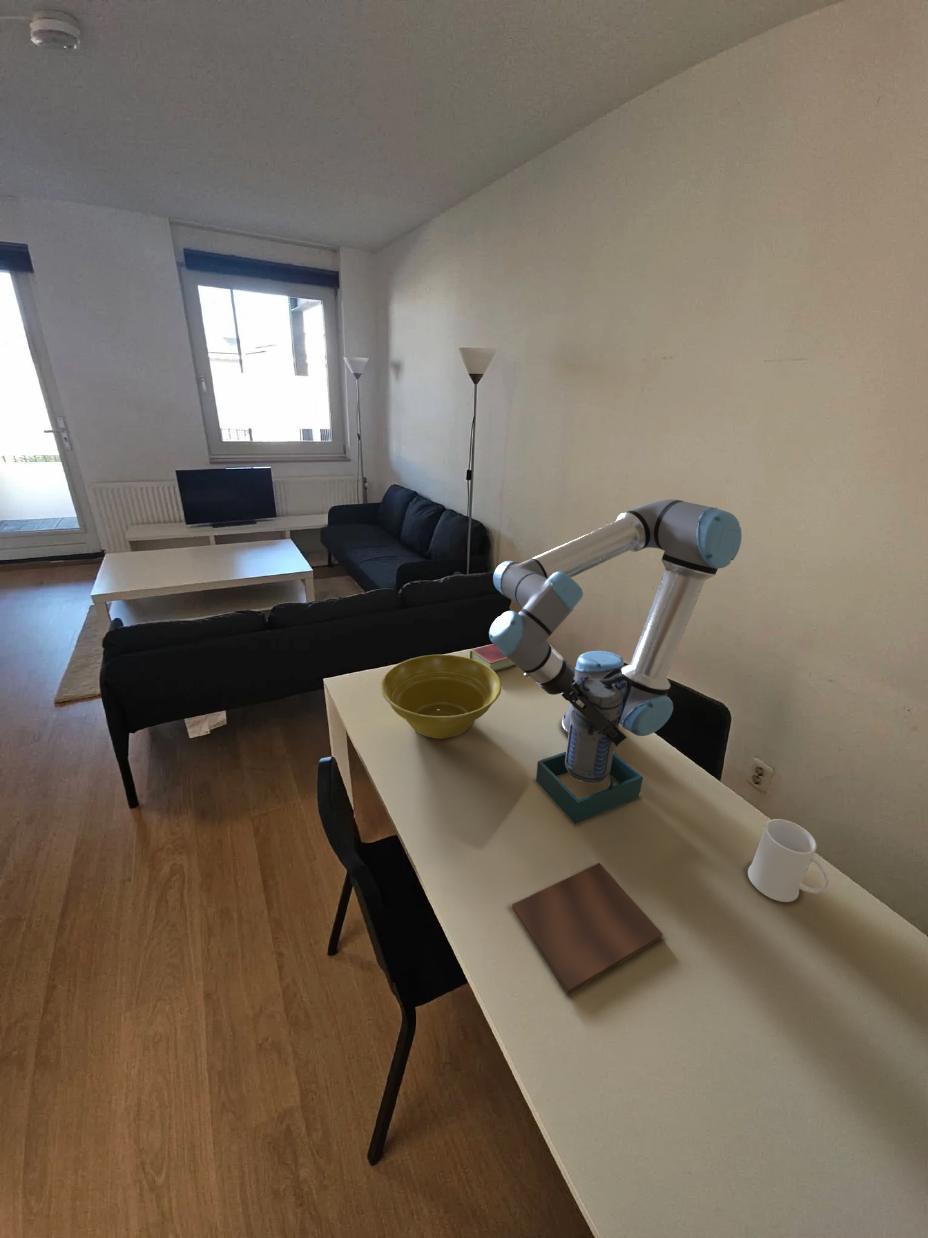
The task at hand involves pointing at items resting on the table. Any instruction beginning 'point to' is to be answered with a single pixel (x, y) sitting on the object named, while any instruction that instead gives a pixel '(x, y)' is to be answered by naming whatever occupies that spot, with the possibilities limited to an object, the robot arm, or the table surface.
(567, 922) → the walnut board
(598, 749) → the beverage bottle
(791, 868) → the mug
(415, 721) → the planter bowl
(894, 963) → the table surface
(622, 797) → the teal open box
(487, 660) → the hardcover book
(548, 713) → the table surface
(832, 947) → the table surface
